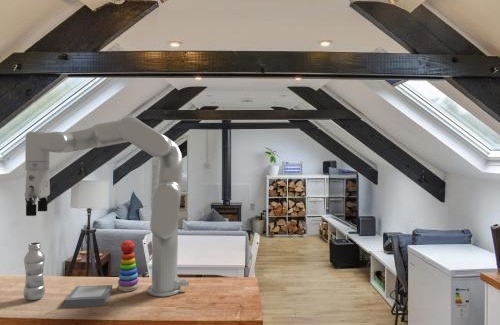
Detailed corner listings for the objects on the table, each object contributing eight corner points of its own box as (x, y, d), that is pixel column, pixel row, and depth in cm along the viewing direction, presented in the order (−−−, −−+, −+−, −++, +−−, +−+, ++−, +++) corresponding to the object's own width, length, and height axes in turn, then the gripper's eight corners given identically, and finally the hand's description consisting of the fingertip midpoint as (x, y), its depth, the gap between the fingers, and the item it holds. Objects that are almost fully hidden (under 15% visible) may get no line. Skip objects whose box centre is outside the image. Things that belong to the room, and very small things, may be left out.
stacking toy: (141, 284, 149) (141, 238, 149) (135, 292, 141) (136, 243, 141) (121, 284, 149) (121, 238, 149) (114, 292, 141) (115, 243, 141)
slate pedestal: (112, 291, 142) (112, 284, 142) (104, 305, 129) (104, 297, 129) (76, 292, 140) (76, 285, 140) (64, 307, 127) (64, 299, 127)
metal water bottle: (21, 299, 133) (20, 243, 133) (41, 294, 138) (41, 240, 138) (26, 304, 129) (26, 247, 128) (47, 298, 134) (47, 243, 133)
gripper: (38, 167, 126) (38, 217, 127) (57, 165, 143) (56, 209, 144) (14, 167, 125) (14, 217, 126) (36, 165, 142) (36, 209, 143)
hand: (37, 213), depth 135 cm, fingers open, 9 cm apart
